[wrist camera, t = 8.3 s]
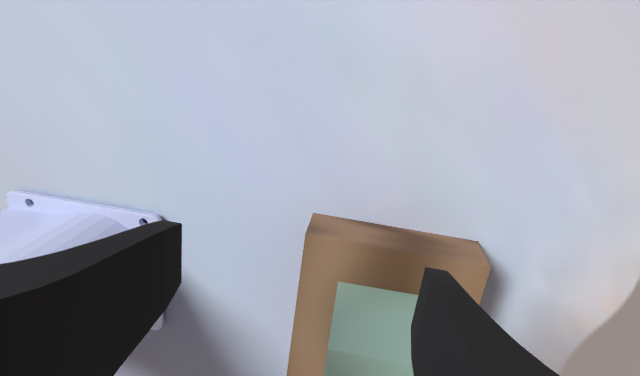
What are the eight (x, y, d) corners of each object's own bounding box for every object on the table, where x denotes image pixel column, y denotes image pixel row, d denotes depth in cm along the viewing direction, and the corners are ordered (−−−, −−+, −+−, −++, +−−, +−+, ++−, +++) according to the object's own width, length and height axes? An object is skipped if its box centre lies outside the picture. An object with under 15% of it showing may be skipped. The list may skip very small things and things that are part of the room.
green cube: (326, 360, 23) (313, 442, 18) (338, 281, 21) (327, 349, 16) (418, 377, 22) (429, 465, 18) (437, 298, 21) (455, 372, 16)
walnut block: (295, 341, 26) (286, 377, 24) (313, 211, 23) (305, 234, 20) (439, 369, 26) (447, 409, 23) (476, 239, 23) (491, 266, 20)
